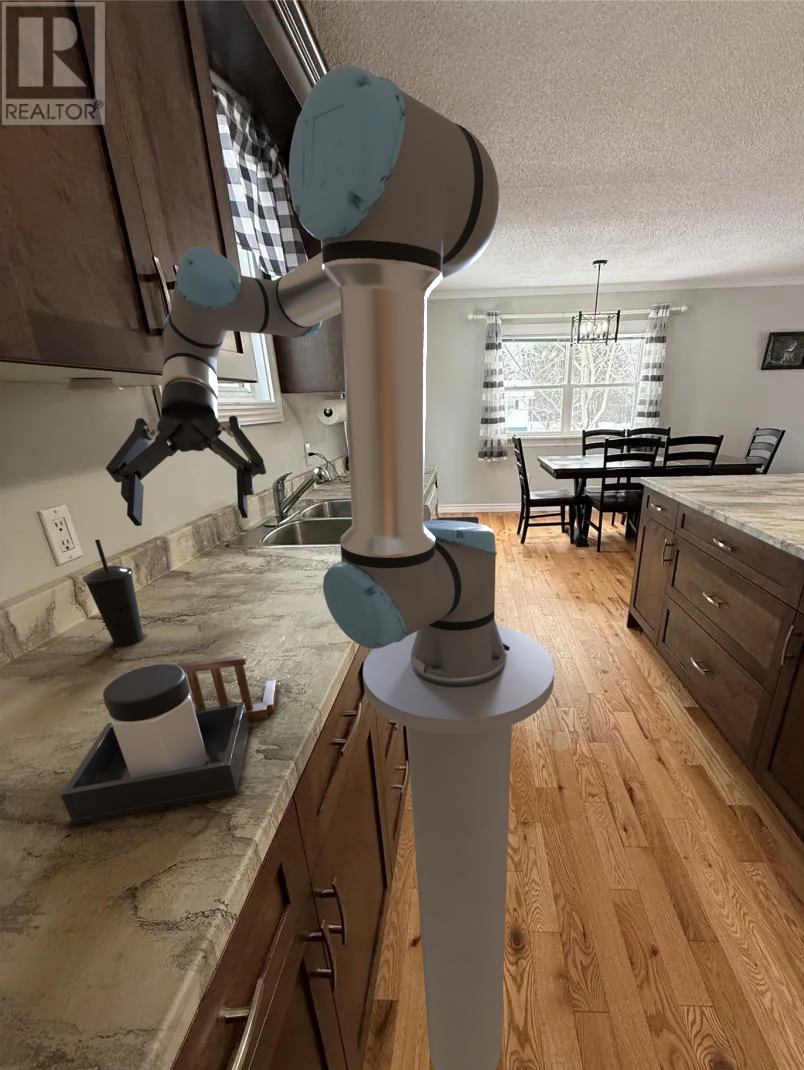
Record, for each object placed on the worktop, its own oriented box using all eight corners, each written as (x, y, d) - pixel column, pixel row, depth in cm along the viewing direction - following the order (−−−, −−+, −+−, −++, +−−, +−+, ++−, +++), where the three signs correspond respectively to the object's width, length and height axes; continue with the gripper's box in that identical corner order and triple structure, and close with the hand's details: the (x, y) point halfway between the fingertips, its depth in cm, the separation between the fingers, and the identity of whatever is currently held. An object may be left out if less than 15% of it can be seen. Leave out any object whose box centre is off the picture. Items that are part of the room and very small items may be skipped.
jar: (181, 734, 65) (158, 656, 60) (224, 751, 61) (203, 670, 57) (113, 779, 57) (81, 693, 53) (158, 800, 54) (128, 711, 49)
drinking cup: (95, 645, 91) (60, 543, 83) (133, 628, 98) (104, 532, 90) (123, 652, 88) (88, 547, 81) (160, 634, 95) (132, 536, 87)
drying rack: (277, 687, 76) (266, 632, 72) (273, 717, 69) (261, 657, 65) (148, 707, 72) (130, 649, 68) (129, 740, 65) (108, 678, 61)
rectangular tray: (250, 727, 67) (244, 702, 65) (237, 793, 56) (229, 764, 54) (116, 750, 63) (106, 723, 62) (73, 825, 52) (60, 795, 50)
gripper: (280, 414, 79) (289, 523, 72) (110, 418, 74) (100, 538, 66) (272, 377, 73) (281, 494, 65) (84, 379, 67) (70, 507, 59)
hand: (190, 516), depth 65 cm, fingers open, 13 cm apart
